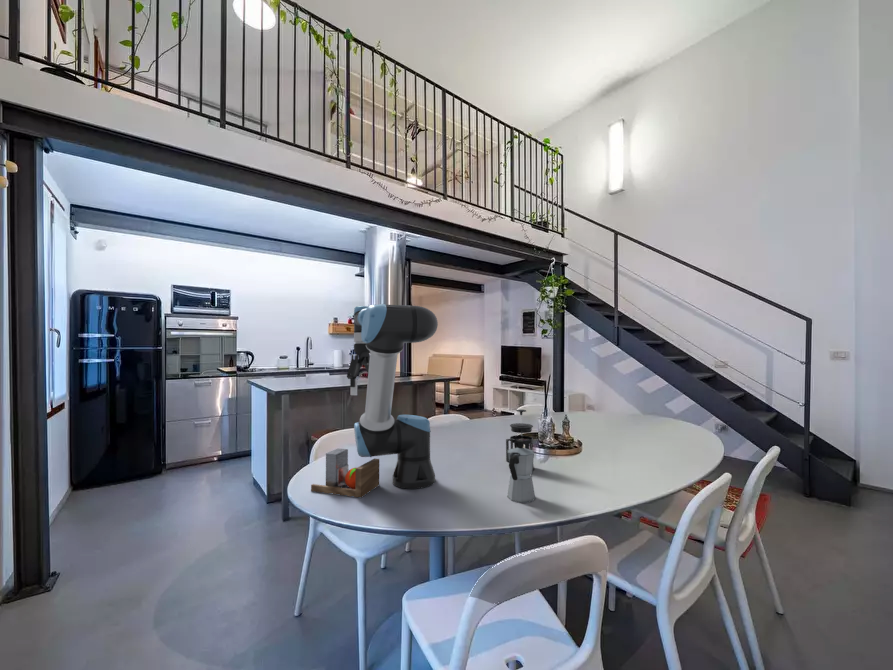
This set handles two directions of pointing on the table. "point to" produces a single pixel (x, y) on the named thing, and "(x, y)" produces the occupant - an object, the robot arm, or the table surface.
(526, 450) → the coffee maker
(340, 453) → the block
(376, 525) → the table surface
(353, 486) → the clementine
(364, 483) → the frame
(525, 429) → the french press
